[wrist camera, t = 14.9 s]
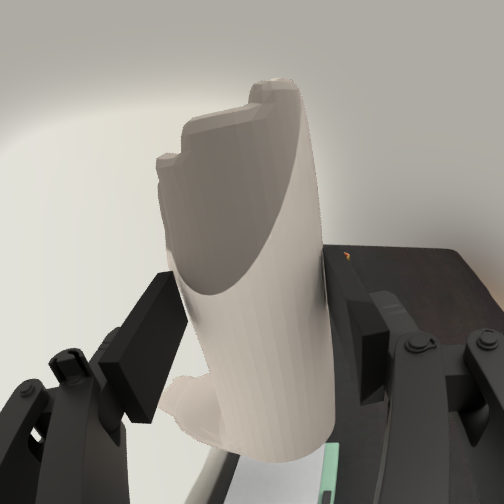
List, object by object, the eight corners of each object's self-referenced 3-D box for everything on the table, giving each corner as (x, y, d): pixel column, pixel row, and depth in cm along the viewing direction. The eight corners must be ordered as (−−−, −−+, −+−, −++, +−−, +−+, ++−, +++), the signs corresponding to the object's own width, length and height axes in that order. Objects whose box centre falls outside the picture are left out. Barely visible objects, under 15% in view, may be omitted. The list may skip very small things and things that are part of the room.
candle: (188, 364, 27) (122, 129, 20) (346, 391, 21) (316, 76, 14) (137, 417, 21) (35, 147, 15) (315, 474, 15) (255, 49, 8)
